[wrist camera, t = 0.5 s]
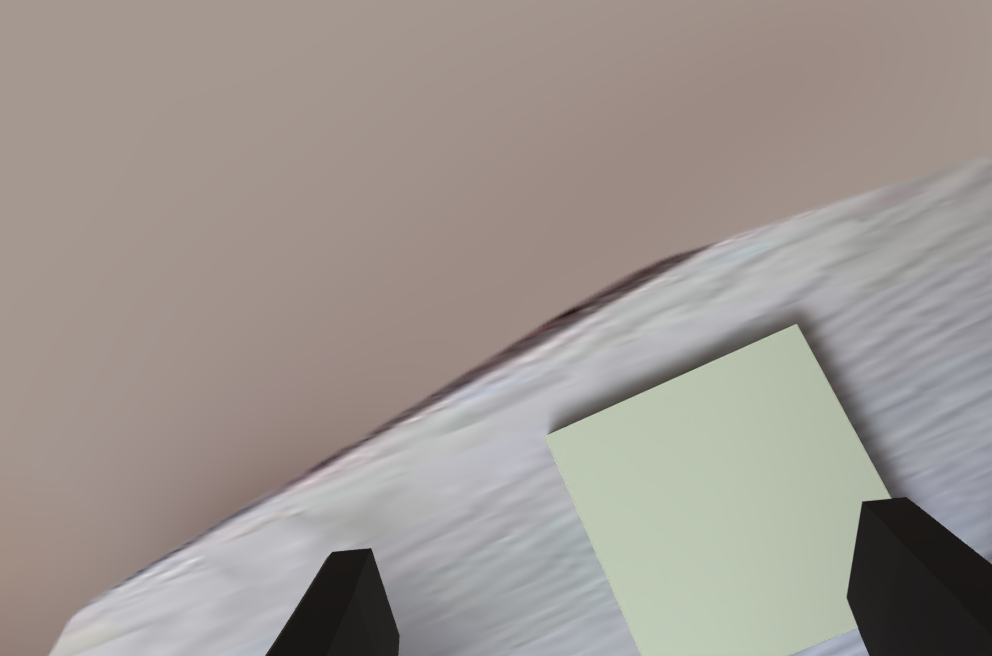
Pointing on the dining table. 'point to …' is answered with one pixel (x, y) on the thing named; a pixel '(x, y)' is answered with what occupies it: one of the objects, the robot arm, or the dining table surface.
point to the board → (725, 503)
